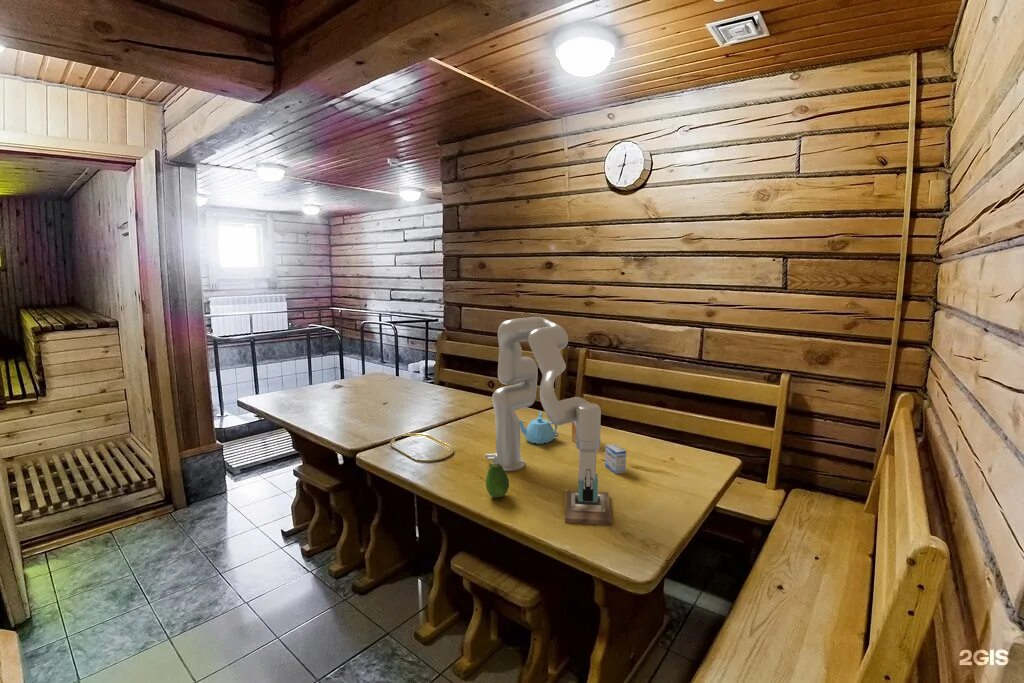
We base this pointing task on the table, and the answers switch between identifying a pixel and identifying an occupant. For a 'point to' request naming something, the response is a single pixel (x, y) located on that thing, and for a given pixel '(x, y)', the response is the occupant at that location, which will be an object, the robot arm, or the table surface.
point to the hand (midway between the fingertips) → (587, 496)
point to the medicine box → (615, 459)
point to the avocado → (497, 481)
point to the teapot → (539, 430)
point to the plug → (595, 491)
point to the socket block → (588, 510)
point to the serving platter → (429, 438)
